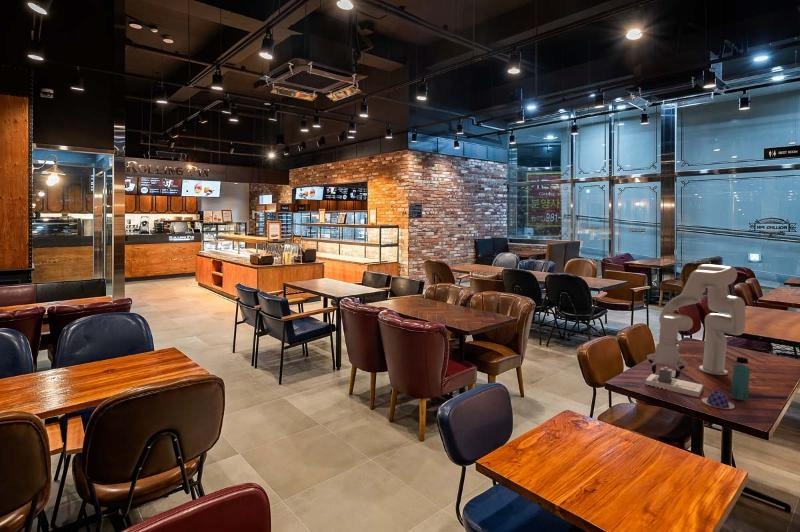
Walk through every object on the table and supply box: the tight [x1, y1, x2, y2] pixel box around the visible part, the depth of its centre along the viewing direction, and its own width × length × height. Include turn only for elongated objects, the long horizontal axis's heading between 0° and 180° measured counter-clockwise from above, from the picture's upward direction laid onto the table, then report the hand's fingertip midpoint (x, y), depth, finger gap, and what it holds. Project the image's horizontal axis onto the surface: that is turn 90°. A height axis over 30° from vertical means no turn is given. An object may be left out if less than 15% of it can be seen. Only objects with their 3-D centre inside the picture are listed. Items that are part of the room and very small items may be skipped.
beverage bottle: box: [730, 356, 751, 401], centre depth 200 cm, size 6×7×20 cm
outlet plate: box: [645, 373, 704, 398], centre depth 216 cm, size 12×22×3 cm, turn 49°
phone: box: [657, 369, 676, 379], centre depth 235 cm, size 13×7×1 cm, turn 137°
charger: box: [658, 366, 673, 383], centre depth 218 cm, size 4×4×9 cm
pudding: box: [701, 390, 735, 410], centre depth 197 cm, size 12×12×5 cm
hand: (665, 375), depth 218 cm, fingers open, 9 cm apart
